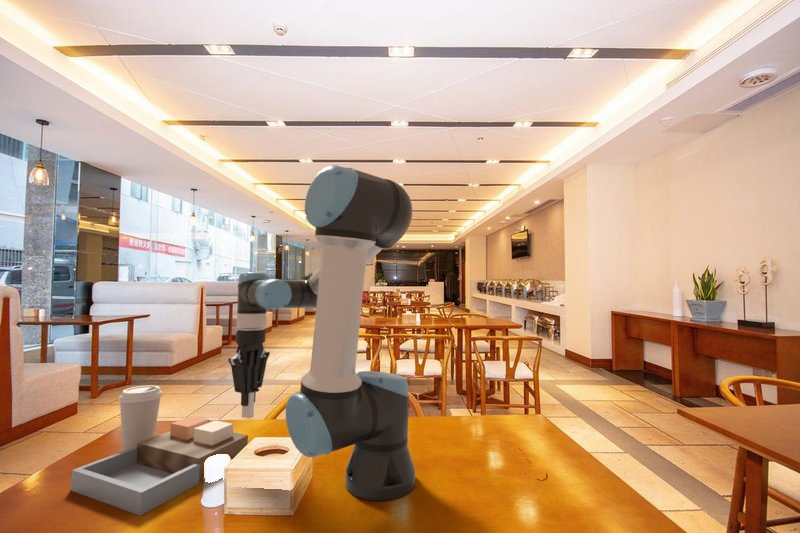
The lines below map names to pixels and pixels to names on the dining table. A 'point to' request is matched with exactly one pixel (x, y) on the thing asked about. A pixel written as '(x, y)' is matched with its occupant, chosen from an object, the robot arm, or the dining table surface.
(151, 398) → the coffee cup
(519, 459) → the dining table surface
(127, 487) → the box
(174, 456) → the dark brown wooden slab
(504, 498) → the dining table surface
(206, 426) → the cream tile
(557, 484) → the dining table surface
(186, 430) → the terracotta tile
